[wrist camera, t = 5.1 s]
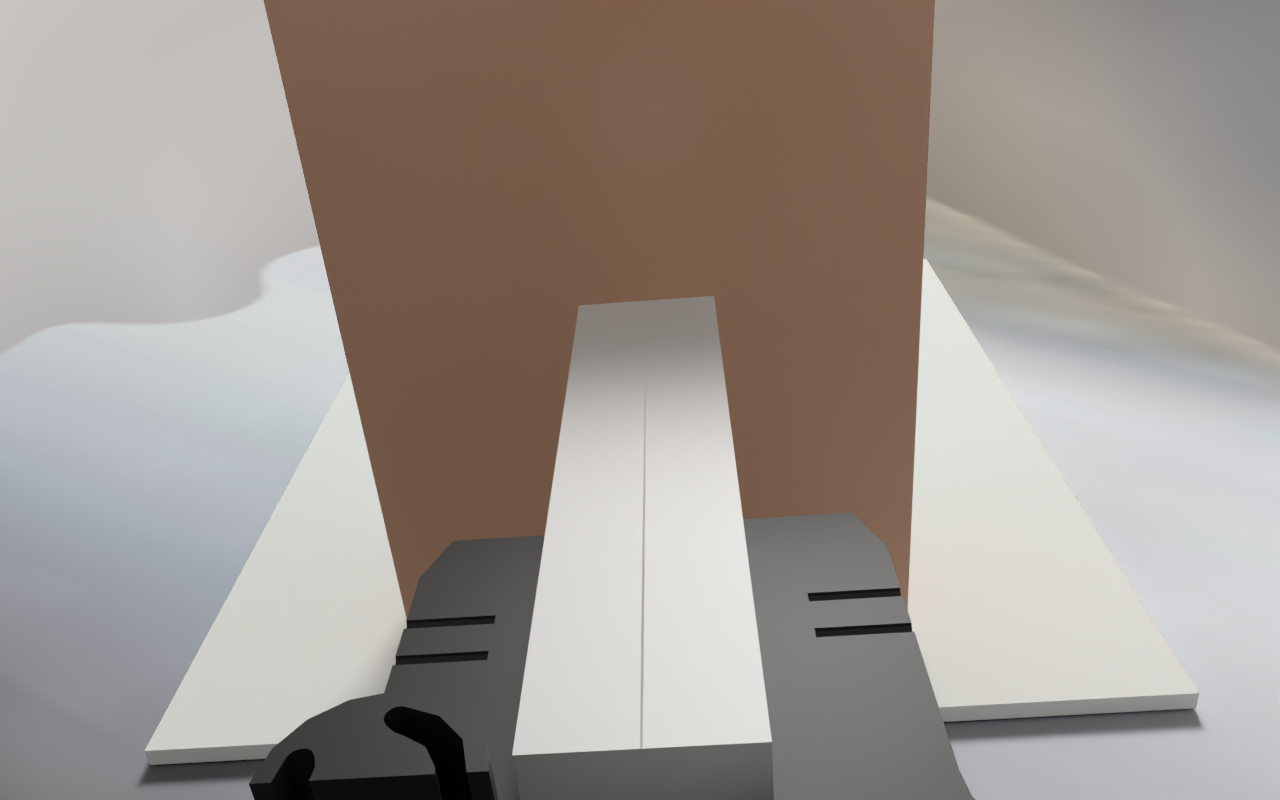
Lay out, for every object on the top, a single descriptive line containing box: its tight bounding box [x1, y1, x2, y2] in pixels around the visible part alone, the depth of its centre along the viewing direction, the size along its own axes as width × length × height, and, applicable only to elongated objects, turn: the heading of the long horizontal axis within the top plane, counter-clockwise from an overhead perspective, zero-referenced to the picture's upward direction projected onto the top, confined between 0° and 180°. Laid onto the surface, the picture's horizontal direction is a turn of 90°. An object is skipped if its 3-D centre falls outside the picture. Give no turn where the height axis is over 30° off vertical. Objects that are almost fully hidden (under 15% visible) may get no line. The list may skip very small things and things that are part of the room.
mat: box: [145, 259, 1199, 765], centre depth 24 cm, size 16×18×1 cm
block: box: [264, 0, 935, 619], centre depth 16 cm, size 8×3×12 cm, turn 90°
